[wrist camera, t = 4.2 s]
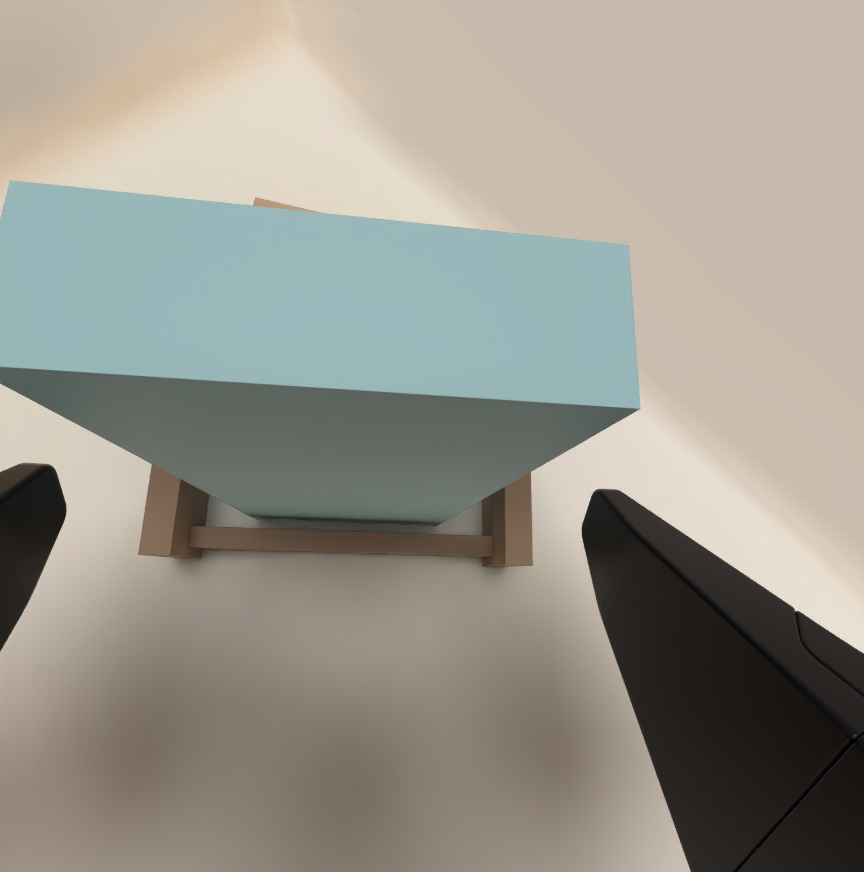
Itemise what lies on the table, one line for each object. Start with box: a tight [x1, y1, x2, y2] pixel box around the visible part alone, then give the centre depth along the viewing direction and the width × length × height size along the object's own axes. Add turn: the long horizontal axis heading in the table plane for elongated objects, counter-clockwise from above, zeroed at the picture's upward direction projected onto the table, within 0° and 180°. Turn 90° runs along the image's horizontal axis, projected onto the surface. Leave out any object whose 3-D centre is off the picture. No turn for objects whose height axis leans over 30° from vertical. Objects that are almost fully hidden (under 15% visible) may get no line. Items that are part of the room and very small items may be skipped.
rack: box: [138, 464, 533, 567], centre depth 17 cm, size 4×11×3 cm, turn 89°
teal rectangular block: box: [0, 180, 640, 526], centre depth 12 cm, size 2×6×14 cm, turn 89°
